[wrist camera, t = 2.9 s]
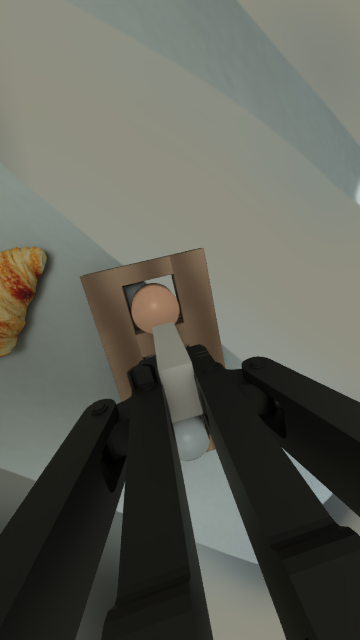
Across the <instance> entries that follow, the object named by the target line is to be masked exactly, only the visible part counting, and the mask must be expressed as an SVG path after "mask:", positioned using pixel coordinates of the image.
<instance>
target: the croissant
mask: <svg viewBox="0 0 360 640" xmlns="http://www.w3.org/2000/svg"><path fill="white" fill-rule="evenodd" d="M46 262H47V256H46V254H45V251H44V250H43V249H41V248H38V247H31V248H28V247H23V248H18V247H16V248H13V249H9V250H5V251H2V252H0V357H2V356H5V355H7V354H9V353H11V351H12V350H13V348H14V347H15V346H16V345H17V338H18V337H17V334H19V333H20V332H21V331H22V329H23V327H24V326H25V324H26V323H25V322H26V321H25V316H26V314H27V312H26V310H27V306H28V304H29V303H30V302H31V301H32V299H33V297H34V296H35V293H36V291H35V290H36V284H37V279H38V278H39V276H41V275H42V274H43V270H44V267H45V264H46Z"/></svg>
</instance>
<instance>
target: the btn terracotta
mask: <svg viewBox="0 0 360 640" xmlns="http://www.w3.org/2000/svg"><path fill="white" fill-rule="evenodd" d="M178 316H179V304H178V301H177V299H176V298H175V296H174V295H173V294H172V292H171V291H170V290H169V289H168V288H167V287H165V286H164V285H161V284H157V283H150V284H146V285H144V286H142V287H141V288H140V289H138V291H137V292H136V293H135V295H134V298H133V302H132V317H133V320H134V322H135V323H136V325H137V326H138V327H139V328H140V329H141V330H143V331H145V332H148V333H152V334H153V330H152V327H155V326H159V325H163V324H167V323H170V322H174V324H175V323H176V321H177V319H178Z"/></svg>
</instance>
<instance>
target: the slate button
mask: <svg viewBox="0 0 360 640" xmlns="http://www.w3.org/2000/svg"><path fill="white" fill-rule="evenodd" d="M172 424H173V427H174V431H175V436H176V442H177V447H178V453H179V458H180V460H182V461H192V460H195V459H197V458H199V457H201V456H202V455H203V454H204V453H205V452H206V451H207V449H208V447H209V438H208V435H207V432H206V430H205V427H204V424H203V421H202V419H201V417H200V416H199V415H198V416H194V417H191V418H187V419H184V420H180V421H177V422H173V423H172Z"/></svg>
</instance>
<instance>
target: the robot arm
mask: <svg viewBox="0 0 360 640" xmlns="http://www.w3.org/2000/svg"><path fill="white" fill-rule="evenodd" d="M152 330H153V337H154V344H155V352H156V356H155V357H151V358H148V359H144V360H141V361H140V362H139V363H138V365H136V366H134V367H132V368H131V369H130V370H129V371H128V372H127V377H128V380H129V383H130V386H131V389H132V395H131V397H129V398H128V399H126V400H125V401H123V402H121V403H119V404H117V405H116V403H115V401H114V400H112V399H103V400H99V401H96V402H94V403H93V404H92V405H90V406H89V407H88V408H87V409H86V410H85V411H84V412H83V414H82V415H81V417H80V418H79V420H78V421H77V423H76V424H75V426H74V427H73V429H72V430H71V431H70V433H69V434H68V436H67V437H66V439H65V440H64V442H63V443H62V445H61V446H60V448H59V449H58V451H57V452H56V453H55V455H54V456H53V458H52V459H51V461H50V462H49V464H48V465H47V467H46V468H45V470H44V471H43V473H42V474H41V475H40V477H39V478H38V480H37V481H36V483H35V484H34V486H33V487H32V489H31V490H30V492H29V493H28V495H27V496H26V497H25V499H24V501H23V502H22V503H21V505H20V506H19V508H18V509H17V511H16V512H15V514H14V515H13V517H12V518H11V519H10V521H9V522H8V524H7V525H6V527H5V528H4V530H3V531H2V533H1V534H0V640H75V638H76V635H77V632H78V629H79V626H80V622H81V619H82V616H83V613H84V610H85V607H86V603H87V600H88V596H89V594H90V591H91V588H92V584H93V581H94V578H95V574H96V572H97V569H98V565H99V562H100V559H101V556H102V553H103V549H104V546H105V543H106V540H107V537H108V534H109V530H110V527H111V524H112V521H113V518H114V514H115V511H116V508H117V505H118V502H119V499H120V496H121V492H122V489H123V486H124V483H125V493H124V507H123V523H122V536H121V550H120V565H119V578H118V591H117V599H116V602H115V605H114V606H113V607H112V608H111V609H110V610H109V611H108V612H107V616H106V619H105V622H104V626H103V632H102V639H101V640H213V636H212V630H211V625H210V619H209V614H208V609H207V604H206V598H205V593H204V587H203V582H202V577H201V571H200V566H199V560H198V555H197V550H196V545H195V539H194V533H193V528H192V523H191V517H190V512H189V506H188V501H187V496H186V490H185V485H184V479H183V474H182V469H181V463H180V458H179V453H178V447H177V442H176V436H175V431H174V427H173V424H172V423H173V422H177V421H180V420H184V419H187V418H191V417H194V416H198V415H201V414H203V412H204V417H205V421H206V426H207V430H208V435H209V434H210V435H211V437H212V440H213V443H214V445H215V448H216V451H217V453H218V456H219V459H220V461H221V464H222V467H223V470H224V472H225V475H226V478H227V480H228V483H229V486H230V488H231V491H232V494H233V496H234V499H235V502H236V504H237V507H238V510H239V512H240V515H241V518H242V520H243V523H244V526H245V529H246V531H247V534H248V537H249V539H250V542H251V545H252V547H253V550H254V553H255V555H256V558H257V561H258V563H259V566H260V569H261V571H262V574H263V577H264V580H265V582H266V585H267V587H268V590H269V593H270V596H271V598H272V601H273V604H274V606H275V609H276V612H277V614H278V617H279V619H280V623H281V625H282V628H283V631H284V634H285V637H286V640H360V536H359V535H358V534H357V533H356V532H355V531H353V530H352V529H351V528H350V527H344V526H339V525H338V524H337V523H336V522H335V521H334V520H333V519H332V517H331V516H330V515H329V514H328V512H327V511H326V509H325V508H324V507H323V505H322V504H321V502H320V501H319V499H318V498H317V497H316V495H315V494H314V492H313V491H312V490H311V488H310V487H309V485H308V484H307V483H306V481H305V480H304V478H303V477H302V476H301V474H300V473H299V471H298V470H297V469H296V467H295V466H294V464H293V463H292V462H291V460H290V459H289V457H288V456H287V455H286V453H285V452H284V450H285V451H286V452H288V453H289V454H290V455H291V456H292V457H293V458H294V459H295V460H297V461H298V462H299V463H300V464H301V465H302V466H303V467H304V468H305V469H307V470H308V471H309V472H310V473H311V474H312V475H313V476H314V477H316V478H317V479H318V480H319V481H320V482H321V483H322V484H323V485H324V486H326V487H327V488H328V489H329V490H330V491H331V492H332V493H333V494H335V495H336V496H337V497H338V498H339V499H340V500H341V501H342V502H344V503H345V504H346V505H347V506H348V507H349V508H350V509H351V510H353V511H354V512H355V513H356V514H357V515H358V516H359V517H360V402H358V401H356V400H353V399H351V398H349V397H347V396H345V395H343V394H341V393H339V392H337V391H335V390H333V389H331V388H329V387H327V386H325V385H323V384H321V383H318V382H316V381H314V380H312V379H310V378H308V377H306V376H304V375H302V374H299V373H298V372H296V371H294V370H292V369H289V368H287V367H285V366H283V365H281V364H279V363H277V362H275V361H273V360H271V359H268V358H265V357H252V358H249V359H246V360H245V361H243V363H242V369H235V370H228V369H225V368H224V366H223V365H222V364H221V363H218V362H215V360H214V359H213V357H212V356H211V355H210V353H209V352H208V350H207V349H206V347H205V346H203V345H200V344H198V345H194V346H190V347H186V348H185V347H184V344H183V342H182V340H181V338H180V336H179V333H178V331H177V329H176V327H175V325H174V322H170V323H167V324H163V325H159V326H155V327H152ZM202 409H203V410H202ZM281 447H282V448H283V449H284V450H283V449H282V448H281Z"/></svg>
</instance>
